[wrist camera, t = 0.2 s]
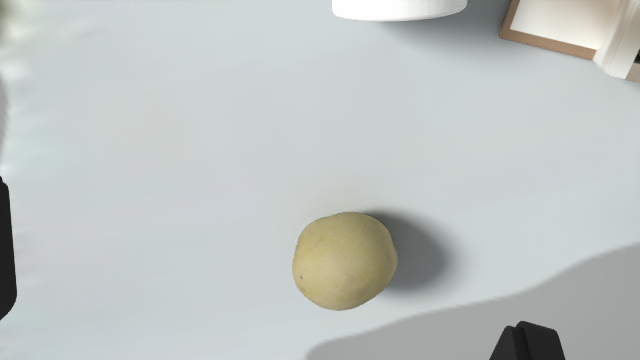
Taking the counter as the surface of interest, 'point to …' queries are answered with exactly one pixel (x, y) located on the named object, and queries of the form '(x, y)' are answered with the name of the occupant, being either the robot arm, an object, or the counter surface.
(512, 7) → the cream tray
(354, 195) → the counter surface
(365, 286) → the potato
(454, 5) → the mug
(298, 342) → the counter surface
